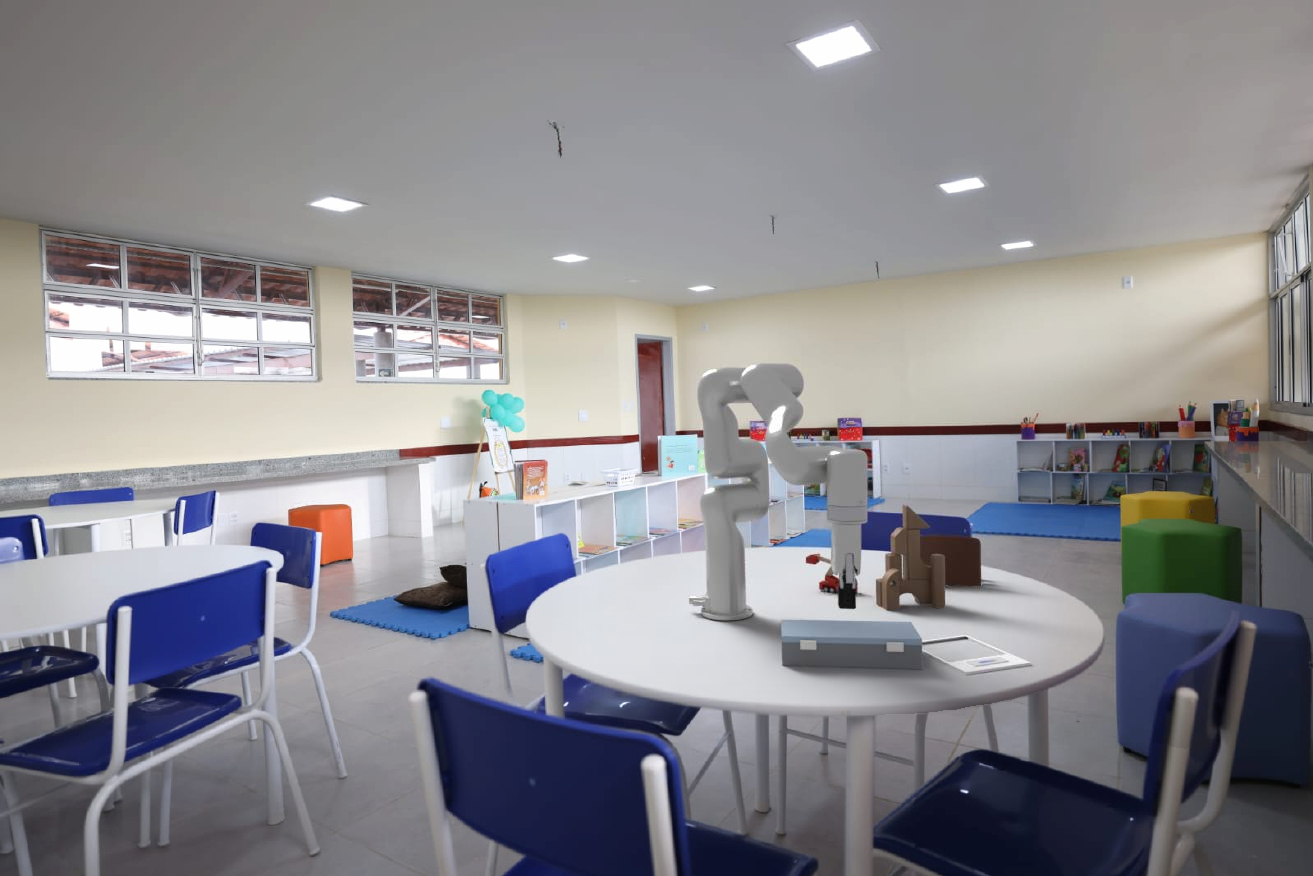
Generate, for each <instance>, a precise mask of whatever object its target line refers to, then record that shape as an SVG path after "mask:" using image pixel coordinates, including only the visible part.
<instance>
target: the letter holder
mask: <svg viewBox="0 0 1313 876" xmlns="http://www.w3.org/2000/svg"><path fill="white" fill-rule="evenodd" d="M932 554H942V555H944V556H945V586H946V585H948V586H947V587H949V586H952V587H973V586H981V587H982V543H981V541H980V539H979V538H977V537H972V536H965V535H956V534H920V558H921V560H922V561H923V563H924V564H926V565H928V566H930V567H931V555H932ZM902 578H904V571H903V570H902Z"/></svg>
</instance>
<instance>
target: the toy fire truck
mask: <svg viewBox="0 0 1313 876" xmlns="http://www.w3.org/2000/svg"><path fill="white" fill-rule="evenodd" d="M820 562H823V563H826V564H829V565H831V558H827V557H825V556H821V554H820V553H814V554H809V555H807V556H805V564H809V565H817V564H819V563H820ZM858 585H859V584H858V580H857V578H856V577H855V588H856V594H857V593H858V588H859V587H858ZM838 586H839V577H837V576H836V575H835V574H834V573H833V571H832V567H831V566H829V568H828V569H827V571H826V573H825V574H824V580H821V581H819V582H818V590H820V591H824V592H825V593H828V592H830V593H834V592H836V593H838Z"/></svg>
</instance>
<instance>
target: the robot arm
mask: <svg viewBox="0 0 1313 876" xmlns="http://www.w3.org/2000/svg"><path fill="white" fill-rule="evenodd" d="M803 377H804V376H803V374H802V373H801V371H800V369H798V368H797V366H795V365H793V364H790V363H782V362H781V363H771V362H770V363H768V362H766V363H764V362H763V363H762V362H761V363H754V364H752V365H750V366H747V367H732V366H730V367H728V366H727V367H717V368H713V369H710V370H707V371H706V372H705V373H703V374H702V376H701V378H700V379H699V382H698V385H697V394H696V395H697V403H698V407H699V411H700V415H701V420H702V429H703V430H702V431H703V434H702V435H703V450H704V451H703V452H704V455H703V456H704V458H703V459H704V467H705V470H706V473H707V475H708V476H709V477H710V478H713V479H715V480H725V479H726V480H728V479H738V478H739V479H740V478H741V483H727V484H717V485H714V486H710V487H708V488H707V489H705V490H704V491H703V493H702V494H701V496H700V501H699V507H700V512H701V518H702V523H703V528H704V540H705V569H706V571H705V573H706V593H705V595H701V596H693V595H692V596H691V595H690V596H689V597H688V601H689V602H688V604H689V605H692V606H693V607H701V606H702V607H701V609H700V614H701V616H702V617H704V618H707V619H710V620H714V621H726V622H727V621H739V620H744V619H747V618H750V617H751V616H753V612H754V611H753V607H751V606H750V605H748V604H747V592H746V591H747V590H746V589H747V587H746V584H747V582H746V581H747V580H746V549H745V548H746V547H745V539H744V537H743V535H742V533H741V531H740V530H739V528H738V527H737V525H736V524H739V523H746V522H752V521H753V522H754V521H758V520H761V519H764V518H765V517H766V515H767V514H768V513H769V510H770V504H771V502H770V499H771V498H770V474H769V473H770V471H769V461H770V463H771V464H772V465H773V467H774V469H775V470H776V472H777V473H778V474H779V475H780V476H781V478H782V479H783V480H784V481H786V482H787V483H788V484H790V485H791V486H792V485H793V486H808V485H816V484H817V485H818V484H820V485H821V484H822V485H823V484H826V521H827V522H828V523H831V535H830V538H831V539H830V542H831V543H830V559H831V564H830V567H832V571H833V573H834V574H833V575H834V576H838V578H839V586H838V592H837V606H838V608H839V609H841V610H845V609H846V610H855V609H856V608H857V593H856V588H855V578H856V576H857V577H858V576H859V575H861V568H862V566H861V565H862V524H867V523H868V461H869V460H868V455H867V453H866V452H865V451H863V450H861V449H857V448H856V449H855V448H843V447H839V446H836V445H813V446H811V445H810V446H799V447H797V446H796V444H795V443H794V442H793V441H792V439H791V438H790V437H789V435H788V434H787V433H789V432H791V430H793V429H794V428H795V427H796V426H797V425H798V424H799V423H800V422H801V420H802V418H803V416H804V407H803V405H802V402H800V401H799V400H798V398H800V396H801V395H802V393H803V391H804V386H805V385H804V384H805V382H804V380H805V379H804V378H803ZM729 404H751V405H752V407H753V408H754V409H755V410H756V412H757V413H758V415H759V416H760V418H761V419H762V421H763V422H764V423H765V424H766V431H765V435H764V442H765V443H764V444H765V447H764V445H763V444H762V443H761V442H760V441H759V440H756V439H754V438H740V436H739V423H738V419H737V418H738V417H736V415H735V413H734V411H733V410H732V409H731V407H730V406H729Z"/></svg>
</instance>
